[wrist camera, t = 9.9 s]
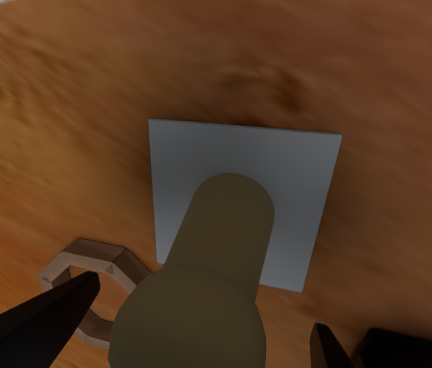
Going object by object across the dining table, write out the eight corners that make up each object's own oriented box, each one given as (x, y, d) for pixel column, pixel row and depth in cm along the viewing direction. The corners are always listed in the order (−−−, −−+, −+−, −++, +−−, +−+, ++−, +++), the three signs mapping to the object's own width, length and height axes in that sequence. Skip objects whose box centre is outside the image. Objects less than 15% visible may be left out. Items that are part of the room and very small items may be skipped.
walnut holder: (163, 255, 20) (152, 271, 18) (167, 345, 25) (159, 365, 23) (47, 231, 22) (27, 243, 21) (71, 318, 27) (57, 334, 25)
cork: (195, 164, 15) (58, 292, 5) (284, 183, 15) (315, 377, 5) (187, 236, 18) (82, 418, 8) (264, 256, 17) (255, 490, 7)
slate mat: (338, 133, 14) (342, 135, 13) (300, 284, 18) (301, 292, 17) (153, 118, 16) (148, 119, 15) (161, 256, 20) (157, 262, 20)
